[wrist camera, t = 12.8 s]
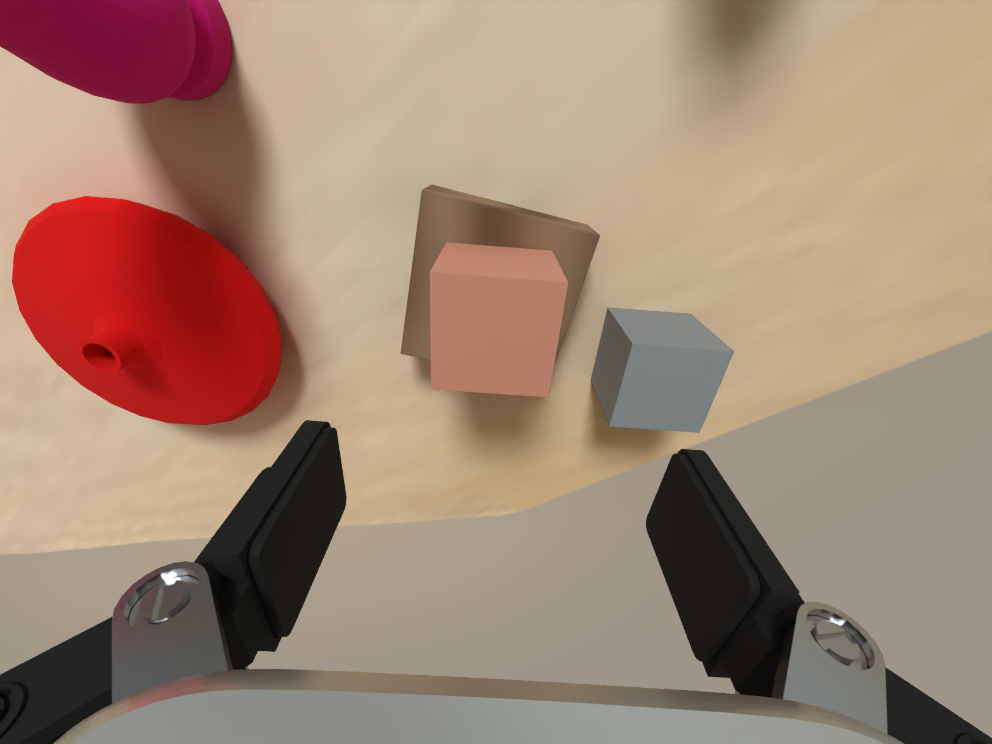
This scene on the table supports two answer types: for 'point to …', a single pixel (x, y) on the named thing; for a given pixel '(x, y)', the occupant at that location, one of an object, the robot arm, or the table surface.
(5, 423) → the table surface
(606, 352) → the grey cube
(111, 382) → the flat cone with hole
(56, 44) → the pepper mill
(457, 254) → the salmon pink cube
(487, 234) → the walnut block
